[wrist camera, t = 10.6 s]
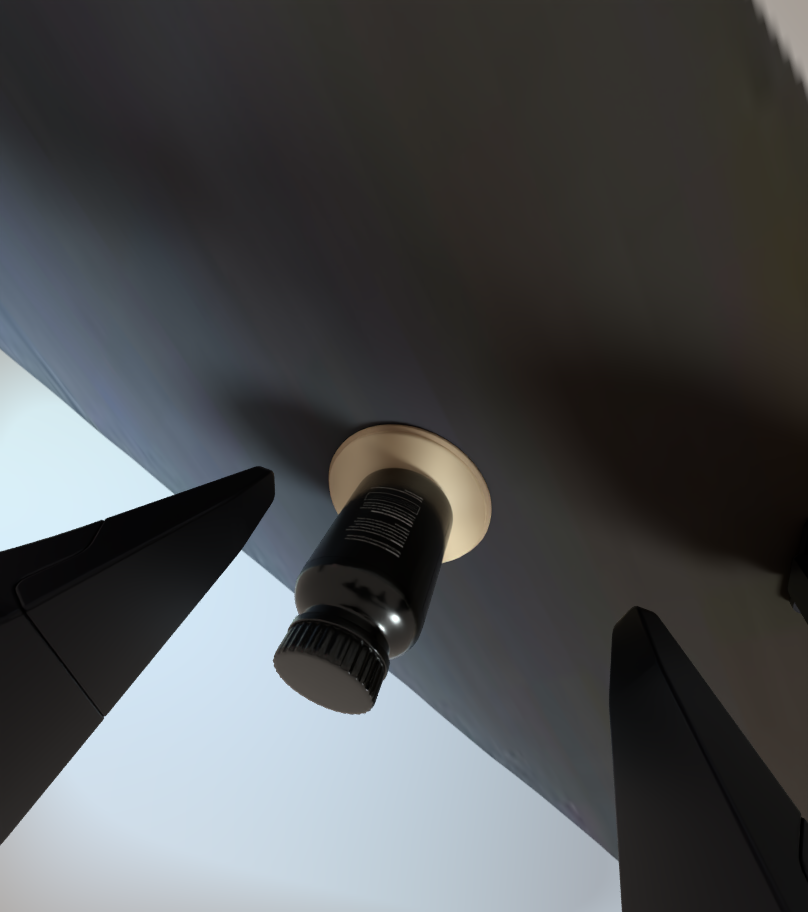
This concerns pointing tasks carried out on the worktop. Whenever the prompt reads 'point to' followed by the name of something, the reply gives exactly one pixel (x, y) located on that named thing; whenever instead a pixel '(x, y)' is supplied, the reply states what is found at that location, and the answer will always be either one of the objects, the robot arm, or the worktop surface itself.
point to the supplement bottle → (366, 590)
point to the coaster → (426, 458)
